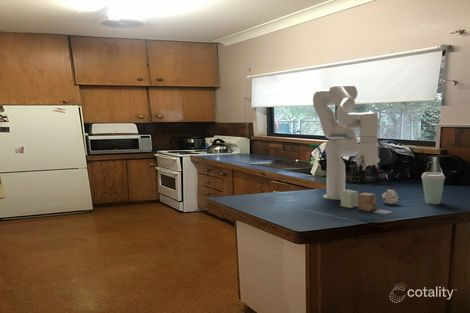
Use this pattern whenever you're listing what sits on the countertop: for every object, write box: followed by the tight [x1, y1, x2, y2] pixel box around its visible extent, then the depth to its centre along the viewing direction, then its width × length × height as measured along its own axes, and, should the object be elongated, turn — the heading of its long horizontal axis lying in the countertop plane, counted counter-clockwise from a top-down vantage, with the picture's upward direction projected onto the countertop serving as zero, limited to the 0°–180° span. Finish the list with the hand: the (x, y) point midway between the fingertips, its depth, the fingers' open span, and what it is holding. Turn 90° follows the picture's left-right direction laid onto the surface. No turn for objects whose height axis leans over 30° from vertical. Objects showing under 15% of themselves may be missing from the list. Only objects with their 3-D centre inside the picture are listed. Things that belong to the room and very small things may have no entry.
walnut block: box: [357, 192, 377, 212], centre depth 181 cm, size 6×6×7 cm
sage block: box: [340, 189, 359, 208], centre depth 189 cm, size 6×6×7 cm
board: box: [339, 204, 394, 216], centre depth 182 cm, size 14×24×1 cm, turn 39°
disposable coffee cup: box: [421, 171, 446, 205], centre depth 196 cm, size 11×11×15 cm
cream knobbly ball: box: [379, 187, 401, 206], centre depth 193 cm, size 9×8×10 cm
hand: (368, 178), depth 180 cm, fingers open, 9 cm apart
